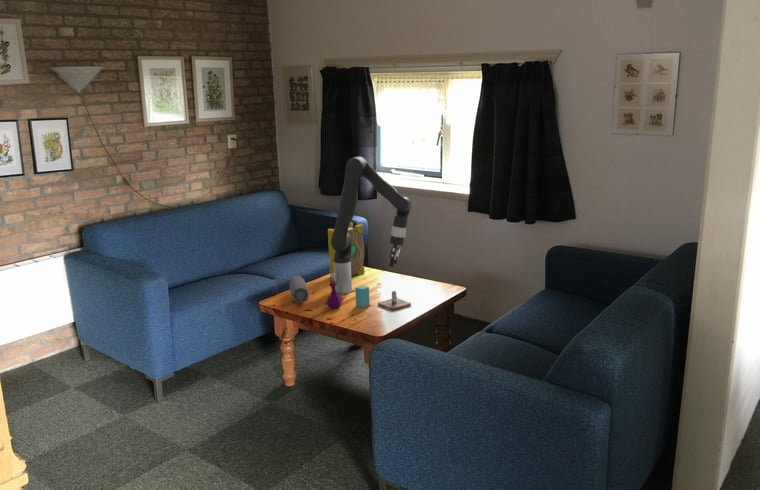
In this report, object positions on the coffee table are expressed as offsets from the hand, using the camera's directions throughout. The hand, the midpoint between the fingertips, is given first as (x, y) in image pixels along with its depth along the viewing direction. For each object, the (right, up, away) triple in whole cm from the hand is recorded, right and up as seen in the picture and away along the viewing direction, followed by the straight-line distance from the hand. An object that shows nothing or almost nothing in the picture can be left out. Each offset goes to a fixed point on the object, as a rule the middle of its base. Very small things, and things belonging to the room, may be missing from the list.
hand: (393, 265), depth 344 cm
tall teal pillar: (-16, -21, -7) cm, 27 cm away
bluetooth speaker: (-50, -18, +8) cm, 54 cm away
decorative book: (-26, -8, +46) cm, 54 cm away
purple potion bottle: (-30, -22, -8) cm, 38 cm away
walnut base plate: (+1, -20, -8) cm, 22 cm away
